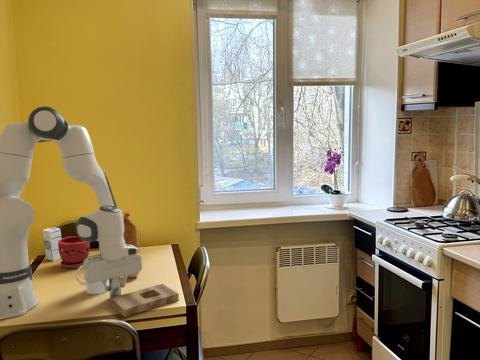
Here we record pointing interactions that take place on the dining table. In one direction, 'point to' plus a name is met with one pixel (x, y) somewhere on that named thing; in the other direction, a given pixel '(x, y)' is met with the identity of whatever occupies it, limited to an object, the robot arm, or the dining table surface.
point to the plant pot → (73, 251)
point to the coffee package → (130, 231)
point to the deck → (143, 299)
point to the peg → (115, 287)
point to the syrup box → (52, 243)
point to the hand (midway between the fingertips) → (115, 289)
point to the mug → (93, 285)
